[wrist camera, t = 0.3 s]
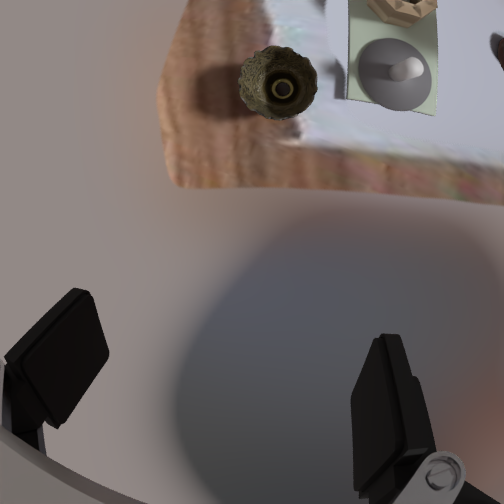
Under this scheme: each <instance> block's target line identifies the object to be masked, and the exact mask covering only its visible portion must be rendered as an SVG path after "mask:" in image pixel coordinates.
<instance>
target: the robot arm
mask: <svg viewBox="0 0 504 504" xmlns="http://www.w3.org/2000/svg"><path fill="white" fill-rule="evenodd" d="M108 357H109V349H108V346H107V343H106V340H105V336H104V333H103V330H102V327H101V323H100V320H99V317H98V313H97V309H96V306H95V303H94V299H93V297H92V296H91V294H90V292H89V291H87V290H83V289H79V288H73V289H71V290H70V291H69V292H68V293H67V294H66V295H65V296H64V297H63V298H62V299H61V300H59V302H57V303H56V304H55V305H54V306H53V307H52V308H51V309H50V310H49V311H48V312H47V313H46V314H45V315H44V316H43V317H42V318H41V319H40V320H39V321H38V322H37V323H36V324H35V325H34V326H33V327H32V328H31V329H30V330H29V331H28V332H27V333H26V334H25V335H24V336H23V337H22V338H21V339H20V340H19V341H18V342H17V343H16V344H15V345H14V346H13V347H12V348H11V349H10V350H9V351H8V353H7V354H6V355H5V356H4V358H5V360H6V362H7V364H6V365H4V363H3V361H2V360H1V359H0V504H147V503H144V502H141V501H139V500H136V499H133V498H131V497H128V496H125V495H123V494H121V493H118V492H116V491H114V490H111V489H109V488H107V487H104V486H102V485H100V484H98V483H96V482H94V481H92V480H90V479H88V478H86V477H84V476H82V475H80V474H78V473H76V472H74V471H72V470H70V469H68V468H66V467H64V466H63V465H61V464H59V463H57V462H56V461H54V460H52V459H50V458H49V457H47V455H46V448H45V442H44V434H43V426H42V424H43V422H44V421H46V423H47V424H49V425H50V426H52V427H54V428H56V429H58V428H59V427H60V425H61V424H63V423H65V422H66V421H67V419H68V418H69V416H70V414H71V413H72V412H73V410H74V409H75V407H76V406H77V404H78V402H79V401H80V399H81V398H82V396H83V395H84V393H85V392H86V391H87V389H88V388H89V386H90V385H91V383H92V382H93V380H94V379H95V377H96V376H97V374H98V373H99V372H100V370H101V369H102V367H103V366H104V364H105V363H106V362H107V360H108ZM351 417H352V436H353V469H354V470H353V471H354V472H353V475H354V476H353V479H354V490H355V491H359V499H365V498H369V504H500V503H499V502H497V501H496V500H494V499H493V498H491V497H489V496H488V495H486V494H484V493H483V492H482V491H480V490H479V489H477V488H475V487H474V486H472V485H471V484H469V483H468V482H466V481H465V476H466V470H465V467H464V464H463V462H462V461H461V459H460V458H458V457H457V456H456V455H455V454H453V453H450V452H447V451H439V452H437V451H436V447H435V441H434V437H433V432H432V428H431V423H430V419H429V416H428V411H427V407H426V403H425V400H424V396H423V392H422V389H421V385H420V382H419V380H418V378H417V377H415V376H412V373H411V370H410V366H409V363H408V360H407V356H406V353H405V349H404V346H403V343H402V340H401V337H400V335H398V334H381V335H380V337H379V338H375V339H374V340H373V342H372V345H371V347H370V350H369V353H368V355H367V358H366V361H365V363H364V365H363V368H362V371H361V373H360V375H359V378H358V380H357V383H356V385H355V387H354V389H353V392H352V395H351Z"/></svg>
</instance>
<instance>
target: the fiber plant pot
mask: <svg viewBox="0 0 504 504" xmlns="http://www.w3.org/2000/svg"><path fill="white" fill-rule="evenodd" d="M240 71H241V73H240V75H241V77H240V78H239V79H238V81H237V82H238V84H239V86H240V89H239V94H240V97H241V99H242V100H243V101H244V103H245V104H246V106H247V107H248V108H249V109H250V110H253V111H255V112H257V113H258V114H260V115H262V116H264V117H265V118H267V119H274V120H284V119H287V118H293V117H295V116H297V115H298V114H299V113H302V112H303V111H305V110H306V109H307V108H308V107H309V105H311V103H312V102H313V100H314V95H315V93H316V92H317V90H318V88H317V73H316V71H315V69H314V68H313V66H312V65H311V62H310V60H309V59H308V58H307V57H302V56H301V55H300V54H298V53H296V52H294V51H293V49H292V48H289V47H284V48H283V47H280V46H269V47H267V48H265V49H264V50H263V51H260V50H259V51H255V52H254V57H249V58H247V59H246V60H245V62H244V65H243V66H242V67H241V70H240ZM279 83H286V84H288V86H289V87H290V91H289V93H288V94H287V95H285V96H281V95H279V94H278V93H277V92H276V86H277V85H278V84H279Z"/></svg>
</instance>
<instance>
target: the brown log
mask: <svg viewBox="0 0 504 504" xmlns="http://www.w3.org/2000/svg"><path fill="white" fill-rule="evenodd" d="M498 59H499V62H500V64H501V67H502V68H503V70H504V38H503V39H502V40H501V41H500V42H499V47H498Z"/></svg>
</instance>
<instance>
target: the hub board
mask: <svg viewBox="0 0 504 504" xmlns="http://www.w3.org/2000/svg"><path fill="white" fill-rule="evenodd" d="M401 1H404V2H408V3H410V0H401ZM348 9H349V10H348V15H349V36H348V74H347V95H346V99H350V100H356V101H363V102H368V103H374V104H380V105H381V106H383V107H385V108H387V109H391V110H395V111H409V110H410V111H413V112H418V113H422V114H426V115H430V116H436V103H437V83H438V82H437V81H438V39H437V19H436V9H435V10H433V11H432V12H431V13H429V14H428V15H427V16H425V17H424V18H423V19H421V20H419V21H418V22H416V23H415V24H413V25H412V26H410V27H409V28H404V27H400V26H396V25H392V24H387V23H384V22H383V21H382V20H381V19H380V18H379V17H378V16H377V15H376V14H375V13H374V12H373V11H372V10H371V9H370V8H369V7H368V6H367V0H348Z"/></svg>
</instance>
